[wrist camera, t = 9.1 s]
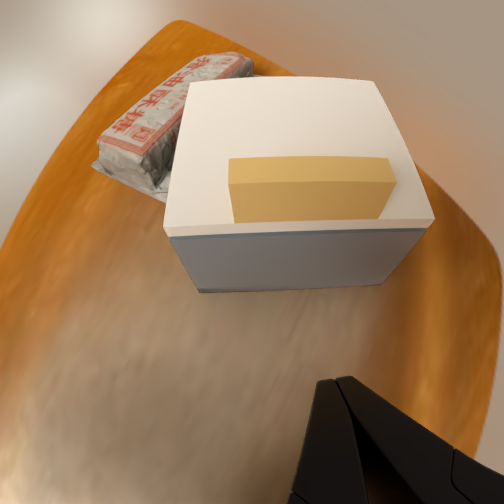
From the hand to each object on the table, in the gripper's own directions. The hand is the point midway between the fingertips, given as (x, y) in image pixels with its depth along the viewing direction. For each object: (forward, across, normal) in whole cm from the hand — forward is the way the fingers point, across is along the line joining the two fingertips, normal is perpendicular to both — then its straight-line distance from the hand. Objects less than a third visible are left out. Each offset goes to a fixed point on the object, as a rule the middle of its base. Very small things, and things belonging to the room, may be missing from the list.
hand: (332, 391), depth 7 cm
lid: (+11, -1, -6) cm, 13 cm away
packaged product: (+25, +6, -9) cm, 28 cm away
